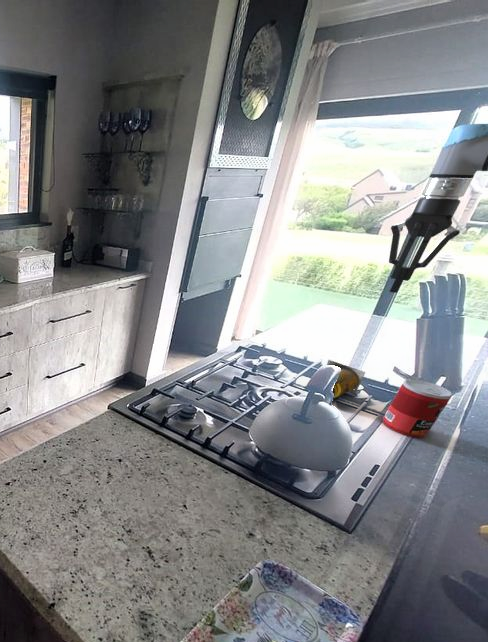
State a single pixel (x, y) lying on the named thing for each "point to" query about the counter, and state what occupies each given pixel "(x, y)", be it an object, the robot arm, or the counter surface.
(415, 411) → the canned food
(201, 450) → the counter surface
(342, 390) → the condiment
